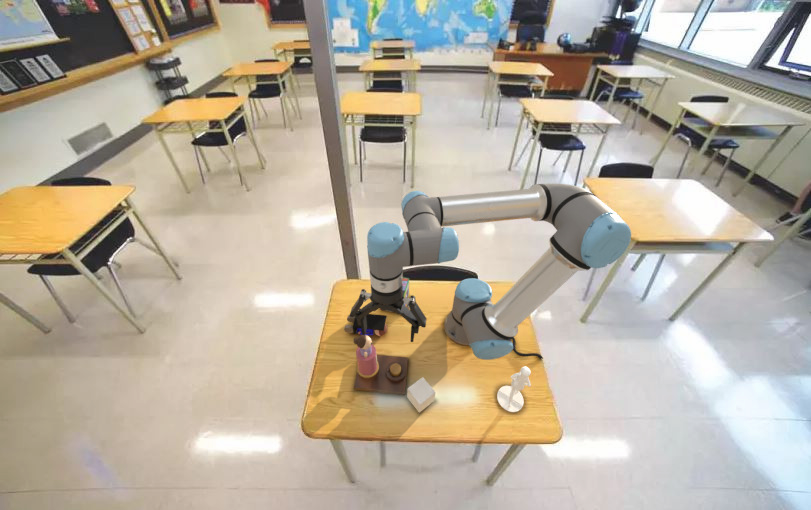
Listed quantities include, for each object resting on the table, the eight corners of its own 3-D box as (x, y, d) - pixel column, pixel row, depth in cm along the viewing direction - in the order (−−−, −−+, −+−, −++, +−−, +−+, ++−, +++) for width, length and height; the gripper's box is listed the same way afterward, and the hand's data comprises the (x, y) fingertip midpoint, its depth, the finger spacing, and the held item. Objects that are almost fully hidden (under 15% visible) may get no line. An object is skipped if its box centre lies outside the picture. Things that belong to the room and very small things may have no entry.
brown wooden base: (407, 360, 108) (408, 354, 106) (404, 395, 99) (404, 390, 97) (361, 355, 109) (360, 350, 107) (354, 390, 100) (353, 385, 98)
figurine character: (346, 339, 116) (386, 341, 113) (341, 327, 111) (383, 328, 108) (350, 324, 121) (389, 325, 118) (346, 311, 116) (386, 312, 113)
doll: (356, 378, 99) (351, 349, 88) (357, 358, 104) (352, 328, 93) (379, 377, 100) (376, 347, 88) (378, 356, 105) (376, 326, 94)
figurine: (522, 389, 101) (539, 360, 89) (523, 415, 96) (542, 387, 84) (497, 384, 103) (510, 354, 91) (496, 408, 97) (511, 380, 85)
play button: (401, 366, 103) (401, 363, 102) (400, 377, 101) (400, 374, 99) (390, 365, 103) (390, 362, 102) (389, 376, 101) (389, 373, 100)
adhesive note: (407, 397, 99) (407, 388, 95) (421, 385, 102) (422, 376, 98) (419, 413, 96) (420, 404, 92) (434, 400, 98) (435, 392, 94)
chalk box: (409, 297, 129) (410, 271, 119) (404, 315, 122) (404, 289, 112) (387, 293, 131) (386, 267, 121) (381, 310, 124) (379, 284, 114)
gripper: (330, 287, 73) (341, 339, 87) (438, 301, 70) (431, 353, 84) (340, 265, 78) (349, 317, 93) (440, 277, 76) (434, 329, 90)
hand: (388, 334), depth 88 cm, fingers open, 13 cm apart
